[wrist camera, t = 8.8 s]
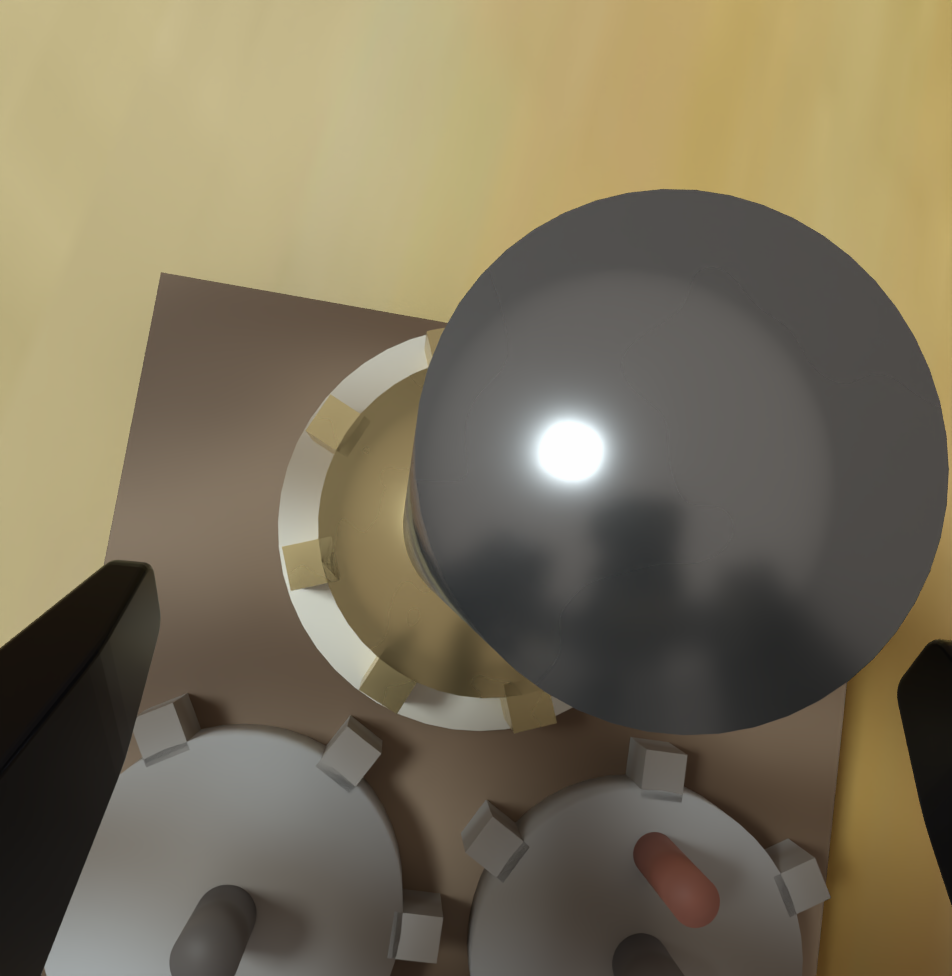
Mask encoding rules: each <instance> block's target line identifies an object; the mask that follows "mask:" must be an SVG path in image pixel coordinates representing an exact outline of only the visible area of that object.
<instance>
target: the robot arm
mask: <svg viewBox="0 0 952 976" xmlns="http://www.w3.org/2000/svg"><path fill="white" fill-rule="evenodd" d="M160 621H161V613H160V606H159V600H158V593H157V587H156V580H155V574H154V570H153V568H152V566H151V565H150V564H148V563H146V562H137V561H127V560H113V561H110V562H108V563H107V564H105V565H104V566H103V567H101V568H100V569H99V570H98V571H96V572H95V573H94V574H93V575H91V576H90V577H89V578H88V579H86V580H85V581H84V582H83V583H81V584H80V585H79V586H77V587H76V588H75V589H74V590H72V591H71V592H70V593H69V594H67V595H66V596H65V597H64V598H62V599H61V600H60V601H59V602H57V603H56V604H55V605H54V606H52V607H51V608H50V609H49V610H47V611H46V612H45V613H44V614H42V615H41V616H40V617H39V618H37V619H36V620H35V621H34V622H32V623H31V624H30V625H29V626H27V627H26V628H25V629H24V630H22V631H21V632H20V633H19V634H17V635H16V636H15V637H14V638H12V639H11V640H10V641H9V642H7V643H6V644H5V645H3V646H2V647H1V648H0V976H41V974H42V971H43V969H44V966H45V964H46V961H47V959H48V956H49V954H50V951H51V949H52V946H53V944H54V941H55V938H56V936H57V933H58V931H59V928H60V926H61V923H62V921H63V918H64V916H65V913H66V910H67V908H68V905H69V903H70V900H71V898H72V895H73V893H74V890H75V888H76V885H77V883H78V880H79V877H80V875H81V872H82V870H83V867H84V865H85V862H86V860H87V857H88V855H89V852H90V849H91V847H92V844H93V842H94V839H95V837H96V834H97V832H98V829H99V827H100V824H101V822H102V819H103V816H104V814H105V811H106V809H107V806H108V804H109V801H110V799H111V796H112V794H113V791H114V789H115V786H116V783H117V781H118V778H119V775H120V773H121V770H122V767H123V764H124V761H125V758H126V755H127V751H128V748H129V744H130V741H131V737H132V733H133V729H134V726H135V722H136V718H137V714H138V710H139V707H140V703H141V699H142V695H143V691H144V688H145V684H146V680H147V676H148V672H149V669H150V665H151V661H152V657H153V653H154V650H155V646H156V642H157V638H158V634H159V629H160ZM897 699H898V705H899V710H900V714H901V719H902V723H903V728H904V733H905V737H906V742H907V746H908V751H909V756H910V760H911V765H912V769H913V774H914V778H915V783H916V788H917V792H918V797H919V801H920V805H921V809H922V813H923V817H924V821H925V825H926V828H927V831H928V835H929V838H930V841H931V844H932V847H933V850H934V853H935V856H936V859H937V863H938V866H939V869H940V872H941V875H942V878H943V881H944V884H945V887H946V890H947V893H948V896H949V899H950V902H951V905H952V641H951V640H941V639H938V640H934V641H932V642H930V643H928V644H927V645H926V646H925V648H924V649H923V650H922V652H921V653H920V654H919V656H918V657H917V658H916V660H915V661H914V662H913V664H912V665H911V666H910V668H909V669H908V670H907V672H906V673H905V674H904V676H903V677H902V679H901V680H900V683H899V685H898V691H897Z"/></svg>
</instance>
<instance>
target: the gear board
mask: <svg viewBox="0 0 952 976" xmlns="http://www.w3.org/2000/svg"><path fill="white" fill-rule="evenodd" d="M447 324H448V323H444V322H439V321H433V320H427V319H422V318H416V317H410V316H405V315H399V314H393V313H388V312H382V311H376V310H371V309H365V308H359V307H354V306H348V305H342V304H337V303H331V302H325V301H320V300H314V299H308V298H303V297H297V296H292V295H286V294H280V293H275V292H269V291H263V290H258V289H252V288H246V287H241V286H235V285H229V284H224V283H218V282H212V281H207V280H201V279H195V278H190V277H184V276H178V275H173V274H167V273H161V276H160V281H159V286H158V291H157V296H156V301H155V306H154V311H153V316H152V322H151V327H150V332H149V337H148V342H147V347H146V352H145V357H144V362H143V368H142V373H141V378H140V383H139V388H138V393H137V398H136V403H135V408H134V413H133V419H132V424H131V429H130V434H129V439H128V444H127V449H126V454H125V459H124V465H123V470H122V475H121V480H120V485H119V490H118V495H117V500H116V505H115V511H114V516H113V521H112V526H111V531H110V536H109V541H108V546H107V551H106V557H105V562H104V565H105V564H107V563H108V562H110V561H113V560H127V561H137V562H146V563H148V564H150V565H151V566H152V568H153V570H154V574H155V580H156V587H157V593H158V600H159V606H160V613H161V621H160V629H159V634H158V638H157V642H156V646H155V650H154V653H153V657H152V661H151V665H150V669H149V672H148V676H147V680H146V684H145V688H144V691H143V695H142V699H141V703H140V707H139V710H138V714H137V718H136V722H135V726H134V729H133V733H132V737H131V741H130V744H129V748H128V751H127V755H126V758H125V761H124V764H123V767H122V770H121V773H120V775H119V778H118V781H117V783H116V786H115V789H114V791H113V794H112V796H111V799H110V801H109V804H108V806H107V809H106V811H105V814H104V816H103V819H102V822H101V824H100V827H99V829H98V832H97V834H96V837H95V839H94V842H93V844H92V847H91V849H90V852H89V855H88V857H87V860H86V862H85V865H84V867H83V870H82V872H81V875H80V877H79V880H78V883H77V885H76V888H75V890H74V893H73V895H72V898H71V900H70V903H69V905H68V908H67V910H66V913H65V916H64V918H63V921H62V923H61V926H60V928H59V931H58V933H57V936H56V938H55V941H54V944H53V946H52V949H51V951H50V954H49V956H48V959H47V961H46V964H45V966H44V969H43V971H42V974H41V976H816V973H817V963H818V954H819V944H820V935H821V925H822V915H823V906H824V901H826V900H828V899H830V898H831V897H830V894H829V892H828V889H827V887H826V877H827V868H828V858H829V849H830V839H831V829H832V820H833V810H834V801H835V791H836V782H837V772H838V763H839V753H840V743H841V734H842V724H843V715H844V705H845V696H846V686H847V682H846V683H845V684H843V685H842V686H841V687H839V688H838V689H836V690H835V691H833V692H832V693H830V694H829V695H827V696H826V697H824V698H823V699H821V700H820V701H818V702H816V703H814V704H812V705H810V706H808V707H806V708H804V709H802V710H800V711H798V712H796V713H794V714H791V715H789V716H787V717H784V718H781V719H778V720H775V721H772V722H769V723H766V724H763V725H760V726H757V727H754V728H748V729H743V730H737V731H732V732H726V733H721V734H701V735H676V734H666V733H655V732H647V731H642V730H638V729H634V728H630V727H625V726H621V725H617V724H613V723H610V722H607V721H605V720H602V719H600V718H597V717H594V716H592V715H589V714H587V713H584V712H581V711H579V710H577V709H575V708H573V707H571V706H569V705H568V704H566V703H564V702H562V701H560V700H559V699H557V698H555V697H553V696H551V698H552V703H553V707H554V712H555V716H556V721H557V723H555V724H551V725H547V726H543V727H539V728H535V729H530V730H526V731H522V732H518V733H513V731H512V730H511V728H510V727H509V725H508V724H507V722H506V721H505V719H504V715H503V711H502V706H501V701H500V698H476V697H465V696H458V695H454V694H450V693H446V692H442V691H438V690H435V689H433V688H430V687H427V686H425V685H422V684H420V683H416V685H415V686H414V688H413V690H412V691H411V693H410V694H409V696H408V698H407V699H406V701H405V702H404V704H403V705H402V707H401V709H400V710H399V712H398V713H397V714H396V713H394V712H393V711H391V710H390V709H388V708H387V707H385V706H383V705H382V704H380V703H379V702H377V701H376V700H374V699H372V698H371V697H369V696H368V695H366V694H365V693H363V692H361V691H360V690H359V688H360V684H361V681H362V678H363V677H364V675H365V673H366V672H367V670H368V669H369V667H370V666H371V664H372V663H373V661H374V659H375V658H376V655H375V654H374V653H373V652H372V651H371V650H370V649H369V648H368V647H367V646H366V645H365V644H364V643H363V642H362V641H361V640H360V639H359V637H358V636H357V635H356V633H355V632H354V631H353V630H352V628H351V627H350V626H349V625H348V623H347V621H346V620H345V618H344V616H343V615H342V613H341V611H340V610H339V608H338V606H337V604H336V602H335V600H334V597H333V595H332V593H331V590H330V588H329V586H328V583H325V584H320V585H316V586H311V587H307V588H302V589H298V590H293V591H291V590H290V585H289V580H288V575H287V570H286V565H285V560H284V555H283V550H282V547H283V546H288V545H292V544H297V543H302V542H306V541H311V540H316V539H318V514H319V506H320V498H321V492H322V488H323V485H324V481H325V477H326V473H327V470H328V468H329V465H330V463H331V461H332V458H333V456H334V454H332V453H331V452H329V451H328V450H326V449H325V448H323V447H321V446H320V445H318V444H317V443H315V442H314V441H313V440H312V439H311V438H310V436H309V435H308V433H307V432H306V429H307V428H308V426H309V425H310V423H311V422H312V420H313V419H314V417H315V416H316V414H317V413H318V412H319V410H320V409H321V407H322V406H323V404H324V403H325V401H326V400H327V398H328V397H329V395H330V394H331V395H332V396H334V397H335V398H337V399H338V400H340V401H342V402H343V403H345V404H346V405H348V406H349V407H351V408H352V409H354V410H355V411H357V412H358V413H360V414H361V413H362V412H363V411H364V410H365V409H366V408H367V407H368V406H369V405H370V404H371V403H372V402H373V401H374V400H375V399H376V398H377V397H378V396H380V395H381V394H382V393H384V392H385V391H386V390H388V389H389V388H390V387H391V386H393V385H394V384H396V383H398V382H399V381H401V380H403V379H405V378H406V377H408V376H410V375H412V374H414V373H416V372H418V371H421V370H423V369H426V368H428V364H427V360H426V355H425V350H424V347H425V340H426V332H427V331H429V330H435V329H440V328H445V327H446V325H447Z"/></svg>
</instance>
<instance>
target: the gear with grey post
mask: <svg viewBox="0 0 952 976" xmlns="http://www.w3.org/2000/svg"><path fill="white" fill-rule="evenodd" d="M424 350H425V355H426V360H427V364H428V368H426V369H423V370H421V371H418V372H416V373H414V374H412V375H410V376H408V377H406V378H405V379H403V380H401V381H399V382H398V383H396V384H394V385H393V386H391V387H390V388H389V389H388V390H386V391H385V392H384V393H382V394H381V395H380V396H378V397H377V398H376V399H375V400H374V401H373V402H372V403H371V404H370V405H369V406H368V407H367V408H366V409H365V410H364V411H363V412H362V413H361V414H360V413H358V412H357V411H355V410H354V409H352V408H351V407H349V406H348V405H346V404H345V403H343V402H342V401H340V400H338V399H337V398H335V397H334V396H332V395H331V394H330V395H329V397H328V398H327V400H326V401H325V403H324V404H323V406H322V407H321V409H320V410H319V412H318V413H317V414H316V416H315V417H314V419H313V420H312V422H311V423H310V425H309V426H308V428H307V429H306V432H307V433H308V435H309V436H310V438H311V439H312V440H313V441H314V442H315V443H317V444H318V445H320V446H321V447H323V448H325V449H326V450H328V451H329V452H331V453H332V454H334V456H333V458H332V461H331V463H330V465H329V468H328V470H327V473H326V477H325V481H324V485H323V488H322V492H321V498H320V506H319V514H318V539H316V540H311V541H306V542H302V543H297V544H292V545H288V546H283V547H282V550H283V555H284V560H285V565H286V570H287V575H288V580H289V585H290V590H291V591H293V590H298V589H302V588H307V587H311V586H316V585H320V584H325V583H328V586H329V588H330V590H331V593H332V595H333V597H334V600H335V602H336V604H337V606H338V608H339V610H340V611H341V613H342V615H343V616H344V618H345V620H346V621H347V623H348V625H349V626H350V627H351V628H352V630H353V631H354V632H355V633H356V635H357V636H358V637H359V639H360V640H361V641H362V642H363V643H364V644H365V645H366V646H367V647H368V648H369V649H370V650H371V651H372V652H373V653H374V654H375V655H376V658H375V659H374V661H373V663H372V664H371V666H370V667H369V669H368V670H367V672H366V673H365V675H364V677H363V678H362V681H361V684H360V688H359V690H360V691H361V692H363V693H365V694H366V695H368V696H369V697H371V698H372V699H374V700H376V701H377V702H379V703H380V704H382V705H383V706H385V707H387V708H388V709H390V710H391V711H393V712H394V713H396V714H397V713H398V712H399V710H400V709H401V707H402V705H403V704H404V702H405V701H406V699H407V698H408V696H409V694H410V693H411V691H412V690H413V688H414V686H415V685H416V683H420V684H422V685H425V686H427V687H430V688H433V689H435V690H438V691H442V692H446V693H450V694H454V695H458V696H465V697H476V698H500V701H501V706H502V711H503V715H504V719H505V721H506V722H507V724H508V725H509V727H510V728H511V730H512V731H513V733H518V732H522V731H526V730H530V729H535V728H539V727H543V726H547V725H551V724H555V723H557V721H556V716H555V712H554V707H553V703H552V698H551V696H553V697H555V698H557V699H559V700H560V701H562V702H564V703H566V704H568V705H569V706H571V707H573V708H575V709H577V710H579V711H581V712H584V713H587V714H589V715H592V716H594V717H597V718H600V719H602V720H605V721H607V722H610V723H613V724H617V725H621V726H625V727H630V728H634V729H638V730H642V731H647V732H655V733H666V734H676V735H701V734H721V733H726V732H732V731H737V730H743V729H748V728H754V727H757V726H760V725H763V724H766V723H769V722H772V721H775V720H778V719H781V718H784V717H787V716H789V715H791V714H794V713H796V712H798V711H800V710H802V709H804V708H806V707H808V706H810V705H812V704H814V703H816V702H818V701H820V700H821V699H823V698H824V697H826V696H827V695H829V694H830V693H832V692H833V691H835V690H836V689H838V688H839V687H841V686H842V685H843V684H845V683H846V682H848V681H849V680H850V679H851V678H852V677H854V676H855V675H856V674H857V673H858V672H859V671H860V670H861V669H862V668H864V667H865V666H866V665H867V664H868V663H869V662H870V661H871V660H873V659H874V658H875V656H876V655H877V654H878V653H879V652H880V651H881V649H882V648H883V647H884V646H885V645H886V643H887V642H888V641H889V640H890V639H891V638H892V636H893V635H894V634H895V633H896V632H897V630H898V629H899V627H900V625H901V624H902V622H903V621H904V619H905V618H906V616H907V615H908V613H909V611H910V610H911V608H912V607H913V605H914V604H915V602H916V600H917V598H918V596H919V593H920V591H921V589H922V587H923V585H924V583H925V581H926V579H927V576H928V574H929V572H930V569H931V566H932V563H933V560H934V557H935V554H936V551H937V548H938V544H939V541H940V538H941V533H942V527H943V522H944V516H945V511H946V506H947V490H948V473H949V468H948V453H947V438H946V431H945V426H944V421H943V415H942V410H941V405H940V400H939V397H938V394H937V391H936V388H935V385H934V382H933V379H932V376H931V372H930V369H929V367H928V365H927V363H926V360H925V358H924V356H923V354H922V352H921V350H920V347H919V345H918V343H917V341H916V339H915V337H914V335H913V333H912V332H911V330H910V329H909V327H908V325H907V324H906V322H905V321H904V319H903V317H902V316H901V314H900V312H899V311H898V309H897V308H896V306H895V305H894V304H893V303H892V301H891V300H890V299H889V298H888V296H887V295H886V294H885V293H884V291H883V290H882V289H881V288H880V286H879V285H878V284H877V283H876V281H875V280H874V279H873V278H872V277H871V276H870V275H869V274H868V273H867V272H866V271H865V270H864V269H863V268H862V267H861V266H860V265H859V264H858V263H857V262H856V261H854V260H853V259H852V258H851V257H850V256H849V255H848V254H846V253H845V252H844V251H843V250H841V249H840V248H839V247H837V246H836V245H835V244H833V243H832V242H831V241H830V240H828V239H827V238H826V237H824V236H823V235H821V234H820V233H818V232H816V231H814V230H813V229H811V228H809V227H808V226H806V225H804V224H803V223H801V222H799V221H797V220H796V219H794V218H792V217H790V216H787V215H785V214H783V213H780V212H778V211H776V210H773V209H771V208H769V207H766V206H764V205H761V204H758V203H754V202H751V201H748V200H744V199H741V198H737V197H734V196H730V195H724V194H718V193H712V192H705V191H699V190H672V189H660V190H650V191H641V192H631V193H626V194H621V195H617V196H613V197H609V198H605V199H601V200H597V201H594V202H591V203H588V204H586V205H583V206H581V207H578V208H576V209H573V210H571V211H568V212H565V213H563V214H561V215H559V216H558V217H556V218H554V219H552V220H550V221H549V222H547V223H545V224H543V225H541V226H540V227H538V228H536V229H534V230H533V231H531V232H530V233H529V234H527V235H526V236H525V237H523V238H522V239H521V240H519V241H518V242H517V243H515V244H514V245H513V246H511V247H510V248H509V249H507V250H506V251H505V252H504V253H503V254H502V255H501V256H500V257H499V258H498V259H497V260H496V261H495V262H494V263H493V264H492V265H491V266H490V267H489V268H488V269H487V270H486V271H485V272H484V273H483V274H482V275H481V276H480V277H479V278H478V280H477V281H476V282H475V283H474V285H473V286H472V287H471V289H470V290H469V291H468V292H467V294H466V295H465V296H464V298H463V299H462V300H461V302H460V303H459V305H458V306H457V308H456V310H455V312H454V313H453V315H452V317H451V319H450V320H449V322H448V324H447V325H446V327H445V328H440V329H435V330H429V331H427V332H426V340H425V347H424Z"/></svg>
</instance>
